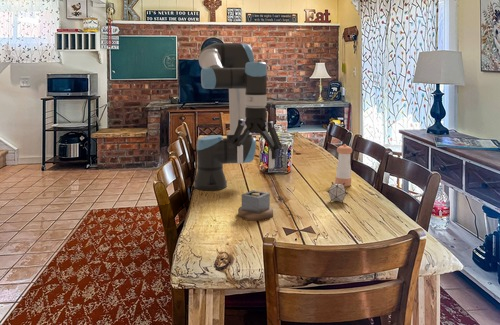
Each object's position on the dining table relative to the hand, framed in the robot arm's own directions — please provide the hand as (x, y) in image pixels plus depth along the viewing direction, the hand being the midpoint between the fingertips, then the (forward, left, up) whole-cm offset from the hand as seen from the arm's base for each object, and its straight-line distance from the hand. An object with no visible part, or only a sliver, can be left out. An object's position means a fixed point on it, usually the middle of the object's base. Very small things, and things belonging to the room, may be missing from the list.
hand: (255, 165), depth 156 cm
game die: (+19, +32, -19) cm, 42 cm away
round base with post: (0, 0, -19) cm, 19 cm away
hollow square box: (0, 0, -17) cm, 17 cm away
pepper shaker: (+11, +59, -19) cm, 63 cm away
